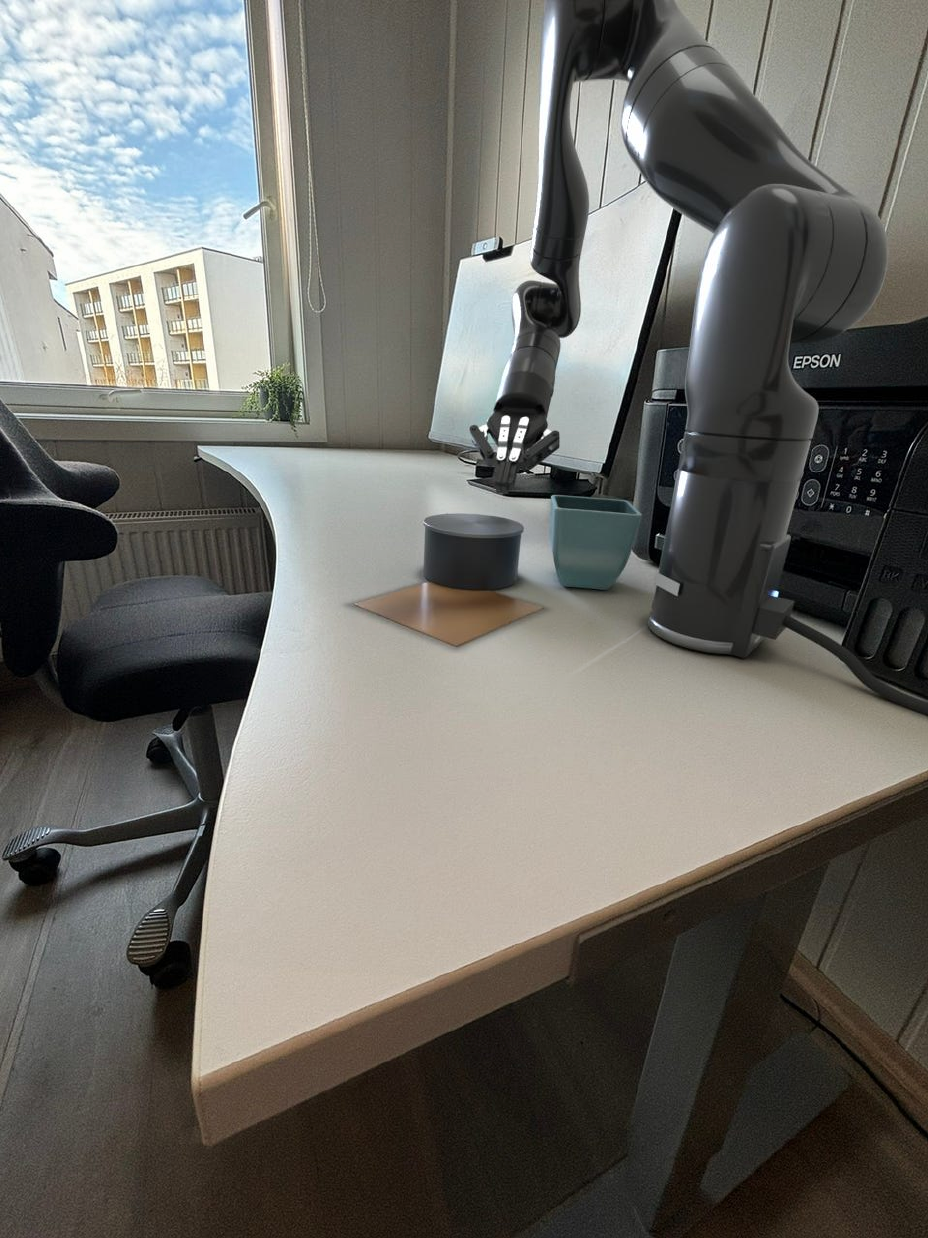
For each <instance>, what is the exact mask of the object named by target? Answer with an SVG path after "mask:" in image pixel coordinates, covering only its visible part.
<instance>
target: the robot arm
mask: <svg viewBox="0 0 928 1238" xmlns="http://www.w3.org/2000/svg"><path fill="white" fill-rule="evenodd" d="M541 22H542V23H541V36H540V37H541V38H540V63H539V64H540V65H539V71H540V72H539V104H538V106H539V107H538V172H537V173H538V175H537V178H538V179H537V181H538V182H537V194H536V203H535V204H536V205H535V213H534V221H533V229H532V237H531V243H530V244H531V245H530V252H529V262H530V266H531V268H532V270H533V271H534V272H536V273H537V274H538V275H540V276H542V277H544V278H545V279H547V280H550V281H551V282H553V283H551V282H546V281H540V280H533V279H532V280H531V279H530V280H526V281H524V282H522V283H521V284H519V285H518V287H517V288H516V289H515V291H514V293H513V296H512V300H511V322H512V328H513V341H512V342H513V343H512V346H511V350H510V354H509V357H508V360H507V363H506V365H505V367H504V370H503V372H502V376H501V380H500V383H499V387H498V390H497V394H496V399H495V403H494V405H493V411H492V413H491V414H490V416H489V417H488V418H486V419H487V420H486V423H485V424H483V425H481V426H478V425H476V424H472V425H470V426H469V433H470V438H471V442H472V444H473V446H474V448H475V449H476V450H477V453H478V454H479V455H480V456H481V459H482V460H483V462H484V463H485V465H486V466H487V467H489V468H494V469H493V473H492V477H491V481H492V487H493V489H494V490H495V491H496V494H503V495H508V494H509V491H513V489H515V484H516V480H517V476H518V472H519V471H521V470H524V469H525V470H526V471H532V470H533V469H534V468H535V467H537V466H538V465H540V464H541V463H542V462H544V460H546V459H547V458H549V457H550V456H551V455H552V454H554V452H555V453H556V451H557V450H559V449H560V445H561V444H560V443H561V441H560V440H561V437H560V432H559V431H558V430H551V429H549V427H548V426H549V422H548V415H549V414H548V413H549V411H550V406H551V402H552V397H553V395H554V391H555V383H556V371H557V366H558V363H559V357H560V352H561V347H562V345H561V339H565V338H567V337H569V336H571V335H572V334H573V333H574V332H575V330H577V327H578V325H579V323H580V320H581V311H582V301H581V300H582V299H581V289H580V262H581V255H582V250H583V244H584V240H585V236H586V230H587V225H588V221H589V214H590V193H589V188H588V182H587V179H586V176H585V173H584V172H585V171H584V169H583V167H582V163H581V161H580V157H579V155H578V152H577V151H578V150H577V148H576V145H575V141H574V136H573V133H572V125H571V100H572V91H573V88H574V87H573V86H574V84H576V83H587V82H603V81H606V82H607V81H620V82H621V81H623V82H626V83H628V85H627V89H626V91H625V94H624V98H623V103H622V110H621V116H620V117H621V119H620V120H621V121H620V123H621V124H620V127H621V128H620V129H621V130H620V131H621V137H622V141H623V144H624V147H625V149H626V151H627V154H628V155H629V157H630V160H631V161H632V163H633V164H634V165H635V168H636V169H637V170H638V172H639V173H640V175H641V176H642V179H644V181H645V183H646V184H647V185H648V187H650V189H651V190H652V191H653V193H655V195H656V196H657V197H658V198H660V199H661V200H662V201H663V202H665V203H666V204H667V205H668V206H670V207H671V208H673V209H674V210H675V211H677V212H678V213H680V214H681V215H682V216H684V217H686V218H688V219H689V220H691V221H692V222H694V223H696V224H697V225H699V226H700V227H702V228H703V229H706V230H707V231H709V233H712V234H713V235H712V238H711V239H710V241H709V243H708V247H707V249H706V252H705V255H704V259H703V260H702V261H703V262H702V265H701V269H700V274H699V278H698V283H697V288H696V295H695V300H694V308H693V309H694V310H693V315H692V316H693V317H692V323H691V333H690V339H689V348H688V356H687V363H686V369H685V370H686V372H685V378H684V396H685V401H686V408H687V416H686V423H685V431H684V435H683V439H682V445H681V450H680V454H679V460H678V466H677V471H676V476H675V481H674V486H673V493H672V498H671V503H670V507H669V513H668V519H667V525H666V530H665V535H664V540H663V546H662V551H661V557H660V562H659V568H658V572H657V571H655V573H654V578H653V585H655V590H654V594H653V595H654V596H653V600H652V604H651V609H650V611H649V615H648V621H647V625H648V628H649V630H651V632H652V633H654V634H655V635H656V636H657V637H659V638H661V639H663V640H664V641H667V642H668V643H671V644H674V645H676V646H679V647H682V648H686V649H690V650H694V651H698V652H704V653H711V654H722V655H730V656H735V657H738V658H741V659H745V658H748V656H749V655H750V654H751V653H752V652H753V651H754V650H755V649H757V648H758V647H759V644H760V643H761V642H762V641H763V640H765V638H767V639H771V640H774V641H775V640H776V639H777V638H778V637H779V636H780V635H781V634H782V633H783V632H784V631H785V629H788V630H790V631H792V632H794V633H796V634H798V635H800V636H802V637H804V638H805V639H806V640H808V641H811V642H813V643H814V644H816V645H818V646H820V647H821V648H823V649H825V650H826V651H828V652H829V653H831V654H832V655H834V657H836V658H838V659H839V660H840V661H841V662H843V664H844V665H845V666H846V667H847V668H848V669H849V671H850V672H851V673H852V674H853V675H854V676H855V677H856V678H857V680H859V682H860V683H861V684H862V685H864V686H865V687H866V688H868V689H869V690H870V691H872V692H874V693H876V694H877V695H879V696H881V697H882V698H885V699H886V700H888V701H890V702H893V703H894V704H896V705H900V706H902V707H904V708H906V709H909V710H911V711H914V712H917V713H919V714H923V715H926V716H928V701H926V700H923V699H920V698H917V697H915V696H912V695H910V694H907V693H905V692H903V691H900V690H898V689H896V688H894V687H892V686H891V685H889V684H887V683H885V682H883V681H881V680H880V679H879V678H877V677H875V676H874V675H873V674H872V673H871V672H870V671H869V670H868V669H867V668H866V667H865V665H864V664H863V663H862V662H861V661H860V660H859V658H858V657H856V656H855V654H853V653H852V652H851V651H850V650H849V649H848V648H846V647H845V646H843V645H842V644H840V643H839V642H837V641H836V640H834V639H832V638H831V637H829V636H828V635H826V634H824V633H822V632H821V631H819V630H817V629H815V628H813V627H811V626H809V625H807V624H805V623H804V622H802V621H799V620H798V619H796V618H795V617H793V616H791V615H792V612H793V608H794V606H795V605H794V604H795V600H792V599H788V598H783V597H779V591H778V589H779V584H780V582H781V581H780V580H781V577H782V573H783V570H784V566H785V562H786V559H787V555H788V551H789V548H790V544H791V540H792V536H791V534H788V529H789V525H790V521H791V518H792V514H793V510H794V507H795V503H796V499H797V497H798V492H799V488H800V484H801V480H802V477H803V473H804V469H805V466H806V462H807V459H808V454H809V451H810V446H811V443H812V441H811V440H812V439H813V436H814V433H815V430H816V425H817V421H818V417H819V411H820V408H819V402H818V401H817V400H816V398H814V397H813V396H812V395H811V394H809V393H808V392H806V391H805V390H804V389H803V388H802V387H801V385H799V383H798V382H797V381H796V379H795V378H794V376H793V374H792V373H791V368H790V365H789V353H790V352H789V351H790V344H792V345H793V344H809V343H811V344H812V343H816V342H817V343H818V342H821V341H825V340H828V339H831V338H834V337H836V336H838V335H842V333H845V331H848V330H849V329H850V328H852V327H854V326H856V324H857V323H859V322H860V321H861V320H862V319H863V318H864V317H865V316H866V314H867V313H868V312H869V311H870V310H871V308H872V307H873V305H874V304H875V303H876V300H877V298H878V297H879V295H880V293H881V290H882V288H883V285H884V282H885V279H886V276H887V271H888V263H889V252H890V251H889V242H888V241H889V240H888V236H887V232H886V229H885V226H884V224H883V221H882V220H881V218H880V216H879V215H878V214H877V212H876V211H875V210H874V208H872V207H871V206H870V205H869V204H868V203H866V202H865V201H863V200H862V199H860V198H859V197H858V196H856V195H855V194H853V193H852V192H850V191H849V190H848V189H847V188H845V187H844V186H843V185H841V184H840V183H838V182H837V181H835V179H833V178H832V177H830V176H829V175H828V174H827V173H825V172H824V171H823V170H821V169H820V168H819V167H817V165H815V164H814V163H813V162H811V161H810V160H809V158H807V157H806V156H805V155H804V154H803V153H802V152H801V151H800V149H798V147H797V146H796V145H795V144H794V142H793V141H792V140H791V139H790V138H789V136H788V135H787V134H786V132H785V131H784V130H783V128H782V127H781V125H780V124H779V123H778V122H777V120H776V119H775V117H773V115H772V113H770V112H769V110H768V109H767V108H766V107H765V106H764V104H763V103H762V102H761V101H760V100H759V99H758V97H757V96H756V95H755V94H754V93H753V92H752V90H751V89H750V88H749V86H747V83H745V81H744V79H743V78H742V77H741V76H740V74H739V73H738V72H737V70H735V69H734V68H733V66H732V65H731V64H730V63H729V62H728V60H726V58H724V56H723V55H722V54H721V53H720V52H719V51H718V50H717V49H716V48H715V47H713V45H711V43H709V42H708V41H707V40H706V39H705V37H704V36H703V35H702V34H701V33H700V32H699V30H698V29H697V28H696V26H695V25H694V24H693V23H692V22H691V20H690V19H689V18H688V17H687V16H686V15H685V14H684V13H683V11H682V10H681V8H680V7H679V5H678V2H677V1H676V0H544V6H543V13H542V21H541ZM489 435H490V437H491V438H492V440H493V442H494V443H495V445H496V446H497V451H494V449H493V448H492V446H491V444H490V443H489V441H488V440H489V437H488V436H489Z"/></svg>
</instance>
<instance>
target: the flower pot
mask: <svg viewBox="0 0 928 1238" xmlns="http://www.w3.org/2000/svg"><path fill="white" fill-rule="evenodd" d="M642 517H643V514H642V512H640V511H639V510H638V509H637V507H635V506H634V505H633V504H632V503H631V502H630V501H628V500H625V499H613V498H603V497H602V498H600V497H589V496H577V495H576V496H574V495H562V494H552V495H551V496H550V520H549V521H550V525H549V528H550V529H549V536H550V547H551V553H552V558H553V564H554V565H553V566H554V569H555V572H556V576H557V578H558V581H559V584H560V585H561V586H562V587H566V588H578V589H579V588H581V589H591V590H600V591H606V590H609V589H610V588H611V587H612V585H614V583H615V582H616V581H617V580H618V578H619V577H620V576H621V575H622V573H623V571H624V570H625V568H626V566H627V563H628V562H629V559H630V557H631V554H632V551H633V547H634V545H635V540H636V538H637V535H638V531H639V528H640V524H641V520H642Z"/></svg>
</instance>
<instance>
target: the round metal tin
mask: <svg viewBox="0 0 928 1238" xmlns="http://www.w3.org/2000/svg"><path fill="white" fill-rule="evenodd" d="M422 523H423V526H424V545H423V546H424V547H423V577H424V578H426V580H428V582H429V581H431V582H433V583H436V584H439V585H442V586H446V587H451V588H456V589H465V590H490V591H493V590H494V591H495V590H501V589H505V588H508V587H511V586H513V585H514V584H516V583H517V581H518V571H519V561H520V551H521V542H522V534H523V532H524V530H525V529H524V528H525V527H524V525H523V524H522V523H520V522H518V521H516V520H513V519H510V518H507V517H501V516H495V515H489V514H478V513H461V512H460V513H440V514H434V515H430V516H427V517H425V518H424V519H423V521H422Z"/></svg>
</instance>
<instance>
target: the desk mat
mask: <svg viewBox="0 0 928 1238" xmlns="http://www.w3.org/2000/svg"><path fill="white" fill-rule="evenodd" d="M353 606H356V607H358V608H359V609H362V610H365V611H368V612H369V613H372V614H375V615H377V616H379V617H382V618H385V619H387V620H389V621H391V622H395V623H397V624H399V625H402V626H404V627H407V628H409V629H411V630H414V631H416V632H418V633H422V634H424V635H426V636H429V637H431V638H433V639H436V640H438V641H441V642H443V643H446V644H448V645H451V646H452V647H455V648H456V647H459V646H461V645H465V644H466V643H468V642H471V641H473V640H475V639H477V638H480V637H483V636H484V635H486V634H487V635H488V634H489V633H491V632H494V631H496V630H497V629H500V628H502V627H505V626H507V625H510V624H511V623H513V622H516V621H518V620H520V619H523V618H525V617H527V616H530V615H532V614H535V613H537V612H540V611H541V610H543V609H544V607H543V606H541V605H537V604H534V603H530V602H527V601H524V600H522V599H517V598H514V597H511V596H508V595H505V594H502V593H499V592H495V591H493V590H465V589H456V588H451V587H446V586H442V585H439V584H436V583H433V582H431V581H429V580H428V581H426V582H423V583H420V584H416V585H413V586H410V587H407V588H403V589H400V590H397V591H392V592H389V593H387V594H383V595H380V596H376V597H372V598H369V599H366V600H362V601H360V602H356V603H353Z"/></svg>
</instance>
